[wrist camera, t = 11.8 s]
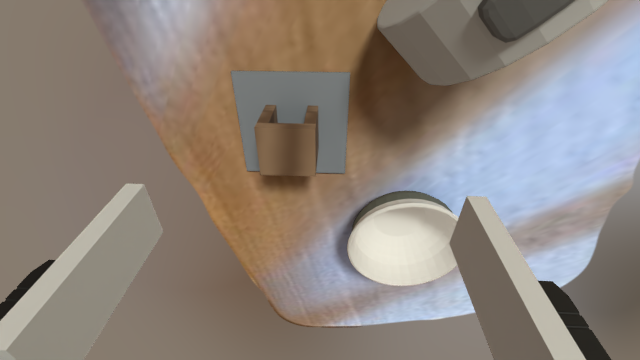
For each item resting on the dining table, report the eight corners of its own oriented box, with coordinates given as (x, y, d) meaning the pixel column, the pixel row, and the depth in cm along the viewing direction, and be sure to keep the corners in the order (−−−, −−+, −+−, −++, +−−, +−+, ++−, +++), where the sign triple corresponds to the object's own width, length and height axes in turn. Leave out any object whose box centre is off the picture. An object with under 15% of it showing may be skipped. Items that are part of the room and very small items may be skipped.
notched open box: (270, 147, 48) (260, 174, 42) (265, 104, 44) (254, 127, 38) (318, 148, 48) (315, 176, 42) (318, 105, 44) (315, 129, 38)
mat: (231, 70, 42) (230, 71, 42) (350, 72, 41) (350, 73, 41) (247, 169, 51) (247, 170, 51) (344, 172, 51) (344, 173, 50)
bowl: (368, 260, 63) (371, 296, 56) (329, 194, 54) (327, 227, 47) (463, 234, 58) (479, 271, 51) (438, 155, 48) (454, 187, 41)
